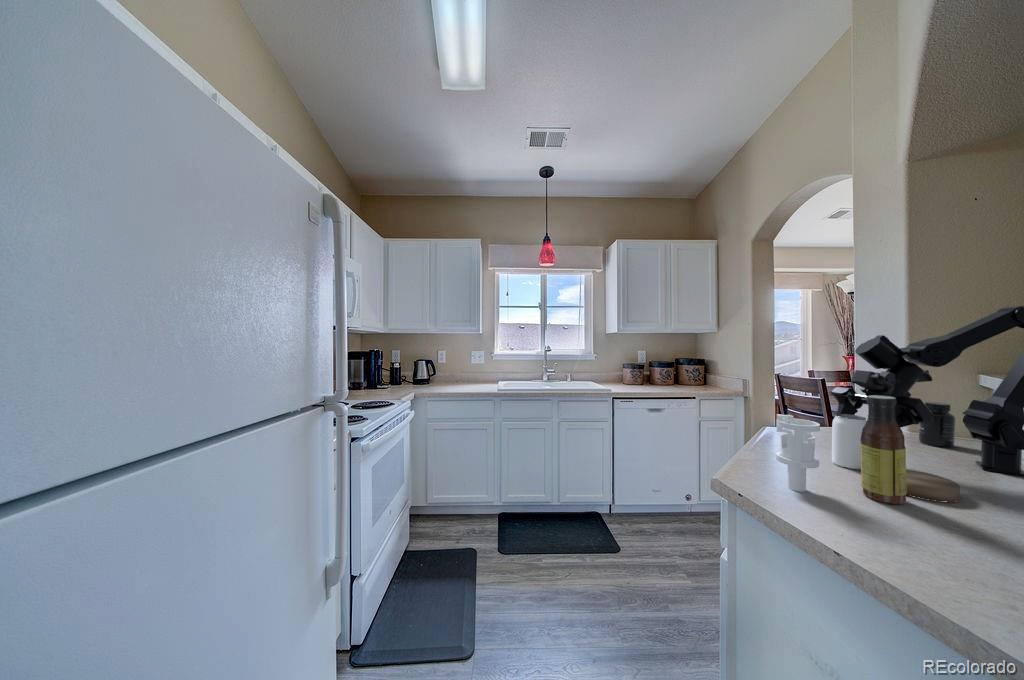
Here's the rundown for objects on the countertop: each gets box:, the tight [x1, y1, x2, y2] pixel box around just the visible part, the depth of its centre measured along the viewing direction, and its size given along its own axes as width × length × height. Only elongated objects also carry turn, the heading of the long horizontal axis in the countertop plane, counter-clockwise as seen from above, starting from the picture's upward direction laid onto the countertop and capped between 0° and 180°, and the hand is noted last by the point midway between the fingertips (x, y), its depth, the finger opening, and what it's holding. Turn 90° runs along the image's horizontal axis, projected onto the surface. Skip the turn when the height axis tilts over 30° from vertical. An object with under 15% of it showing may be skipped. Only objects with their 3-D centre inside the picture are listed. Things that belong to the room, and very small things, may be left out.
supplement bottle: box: [918, 401, 956, 449], centre depth 107 cm, size 7×7×12 cm
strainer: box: [775, 413, 821, 493], centre depth 77 cm, size 7×7×15 cm
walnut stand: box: [906, 468, 961, 503], centre depth 76 cm, size 11×11×2 cm
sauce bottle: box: [860, 395, 907, 505], centre depth 72 cm, size 6×6×20 cm
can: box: [831, 413, 867, 471], centre depth 90 cm, size 6×6×12 cm
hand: (855, 428), depth 90 cm, fingers open, 9 cm apart
